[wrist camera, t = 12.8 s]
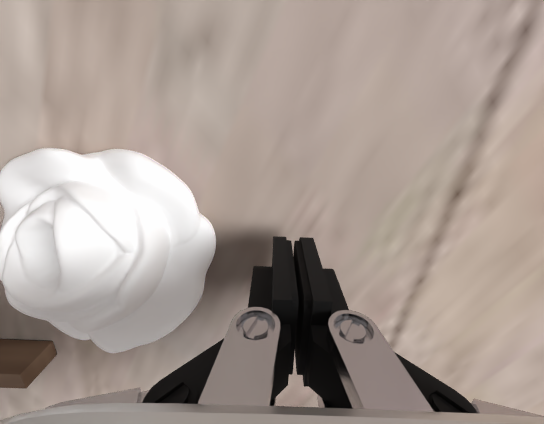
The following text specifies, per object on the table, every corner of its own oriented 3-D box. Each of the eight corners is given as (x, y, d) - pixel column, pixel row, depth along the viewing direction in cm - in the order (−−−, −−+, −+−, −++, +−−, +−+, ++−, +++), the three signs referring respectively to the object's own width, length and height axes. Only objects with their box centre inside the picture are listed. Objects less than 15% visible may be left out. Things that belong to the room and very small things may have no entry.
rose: (121, 431, 11) (-139, 330, 9) (163, 343, 15) (-9, 262, 13) (247, 262, 8) (-101, 60, 6) (257, 211, 12) (51, 82, 10)
